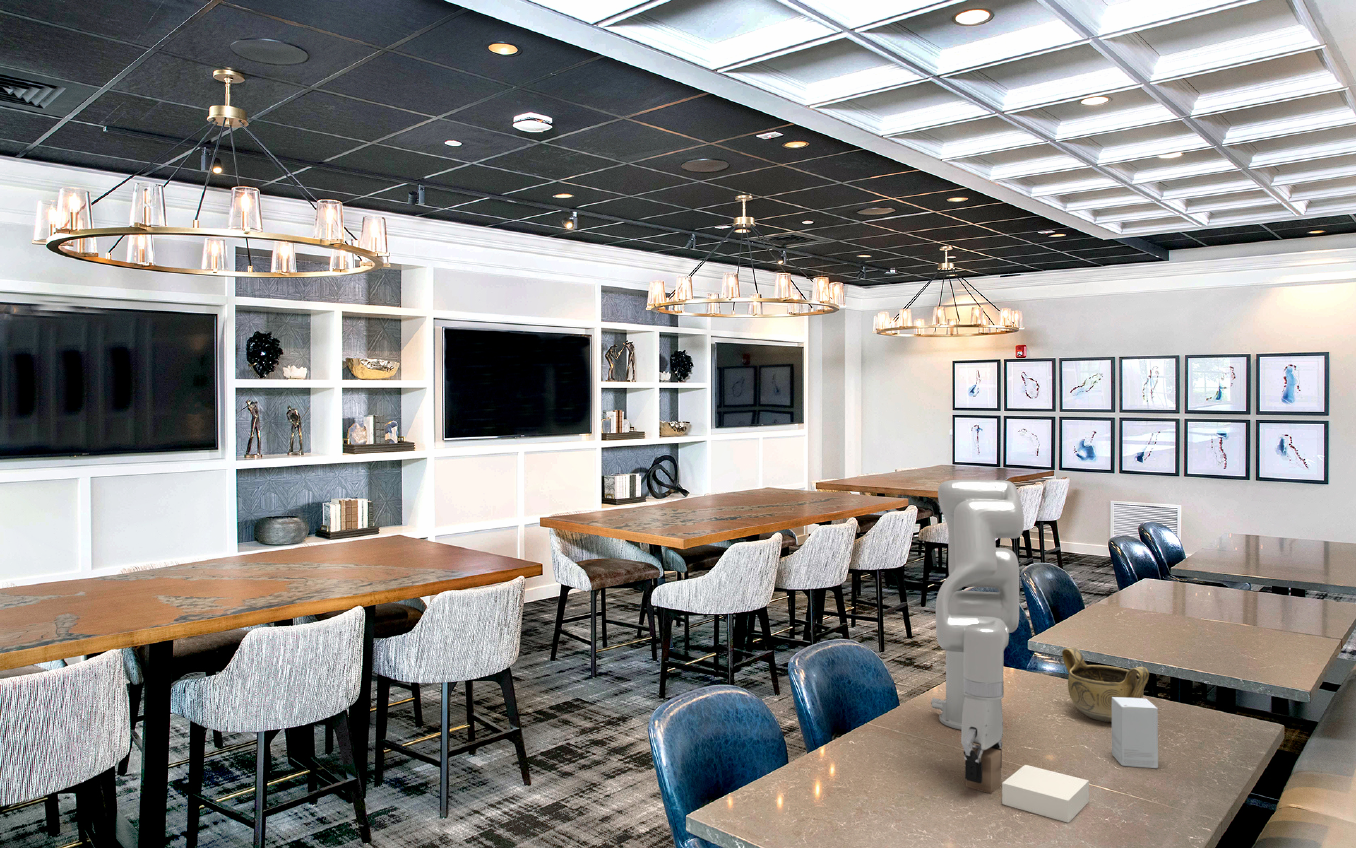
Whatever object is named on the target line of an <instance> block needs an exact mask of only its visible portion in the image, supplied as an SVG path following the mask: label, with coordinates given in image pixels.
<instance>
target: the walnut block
mask: <svg viewBox="0 0 1356 848" xmlns="http://www.w3.org/2000/svg"><path fill="white" fill-rule="evenodd" d="M977 745H978V746H980V745H979V744H977ZM972 750H973V751H974V752H975V754H976V755H977V752H978V750H974V749H972ZM980 762H982V783H976V782H972V781H968V780H966V779H965V780H966V783H965V784H966V786H965V787H966V788H970V789H973V790H976V791H980V792H985V793H988V794H993V793H994V792H996V791H997V790H998V789H999V788H1000V787H1001V786H1002V768H1001V750H996V749H992V748H988V749H986V750H984V751H983V753H982V757H981V760H980Z"/></svg>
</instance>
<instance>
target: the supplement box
mask: <svg viewBox="0 0 1356 848" xmlns="http://www.w3.org/2000/svg"><path fill="white" fill-rule="evenodd" d="M1158 710H1159V709H1158V707H1157V706H1156V705H1154V704H1153V703H1152V702H1151V701H1150V700H1149V699H1147V698H1145V697H1143V698H1126V697H1112V722H1111V754H1112V756H1113V757H1114V758H1115V760H1116V761H1118V763H1119V764H1120V765H1121V766H1123V767H1135V768H1146V769H1147V768H1148V769H1149V768H1151V769H1158V768H1159V740H1158V739H1159V718H1158V717H1159V715H1158Z"/></svg>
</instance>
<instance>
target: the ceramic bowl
mask: <svg viewBox="0 0 1356 848" xmlns="http://www.w3.org/2000/svg"><path fill="white" fill-rule="evenodd" d="M1061 654H1062V659H1063V663H1064V665H1065V667H1066V671H1067V673H1068V680H1067V687H1068V688H1067V689H1068V693H1069V696H1070V699H1071V702H1072V703H1073V705H1074V706H1075V707H1076V708H1077V710H1079V711H1080V712H1081V713H1083V715H1085V716H1087V717H1089V718H1091V719H1093V720H1095V719H1096V720H1097V721H1099V722H1105V723H1106V722H1108V723H1112V697H1126V698H1144V692H1145V691H1144V689H1145V687H1146V685H1147V683H1148V681H1149V679H1150V678H1149V677H1150V671H1149V670H1148V668H1147V667H1145V666H1138V667H1133V668H1131V669H1127V668H1121V667H1118V666H1112V665H1111V666H1110V665H1101V664H1087V663H1086V661H1085V659H1084V657H1083V654H1082V652H1081V651H1080V649H1079V648H1077V647H1074V646H1073V647H1066V648H1064V649H1062V651H1061Z"/></svg>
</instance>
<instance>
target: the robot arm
mask: <svg viewBox="0 0 1356 848" xmlns="http://www.w3.org/2000/svg"><path fill="white" fill-rule="evenodd" d="M937 497H938V498H937V499H938V504H939V507H940V510H941V512H942V515H943V517H944V519H945V522H946V525H947V530H948V531H947V534H948V536H947V537H948V543H947V544H948V553H947V555H948V556H947V557H948V561H947V562H948V576H947V577H946V579H945V580H944V582H942V585H941V586H940V588H939V590H938V593H937V595H936V600H935V635H936V641H937V643H938V646H939V647H940V648H942V650H945V699H940V698H937V697H932V698H931V700H930V701H931V702H930V704H931V708H932V709H936V710H940V714H939V721H940V723H942V724H943V725H944V726H947V727H948V728H952V729H955V730H961V736H960V737H961V739H960V743H961V745H962V747H963V751H962V752H963V756H964V757H963V759H964V761H965V762H964V763H965V764H964V765H965V766H964V768H965V770H964V771H965V772H964V778H965V780H968V781H972V782H976V783H982V762H980V760H981V757H982V753H983V751H984V750H986V749H988V748H992V749H996V750H1001V769H1002V767H1003V766H1002V765H1003V764H1002V763H1003V761H1002V757H1003V754H1002V753H1003V749H1002V748H1003V742H1002V739H1003V736H1004V734H1003V731H1004V729H1003V728H1004V721H1003V704H1002V703H1003V702H1002V701H1003V700H1002V699H1003V698H1004V696H1005V695H1004V694H1005V692H1004V690H1005V687H1004V686H1005V685H1004V684H1005V680H1004V679H1005V678H1004V677H1005V676H1004V670H1005V669H1004V661H1005V660H1004V656H1005V655H1004V651H1005V649H1006V648H1007V647H1008V645H1009V641H1010V640H1009V639H1010V638H1009V637H1010V633H1014V632H1015V631H1016V630H1017V628H1018V627H1019V622H1020V621H1019V620H1020V566H1019V565H1020V564H1019V560H1018V557H1017V554H1016V553H1015V552H1014V551H1013V550H1011V549H1010V548H1005V547H996V545H997V544H996V539H1018V538H1019V537H1021V536H1022V534H1023V532H1024V527H1025V515H1024V509H1023V505H1022V502H1021V499H1020V495H1019V492H1018V488H1017V486H1016V485H1015V484H1014V483H1013V482H1011V481H1010V480H1003V479H994V480H993V479H952V480H951V479H949V480H946V481H943V482H942V483H941V484H939V486H938V490H937ZM964 587H968V588H986V589H987V588H990V589H991V588H993V589H997V590H998V591H997V592H996V591H995V592H994V591H992V592H991V591H979V590H978V591H975V590H961V589H962V588H964ZM978 745H980V746H978ZM972 749H974V750H978V752H977V755H976V754H975V752H974V751H973V750H972Z"/></svg>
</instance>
